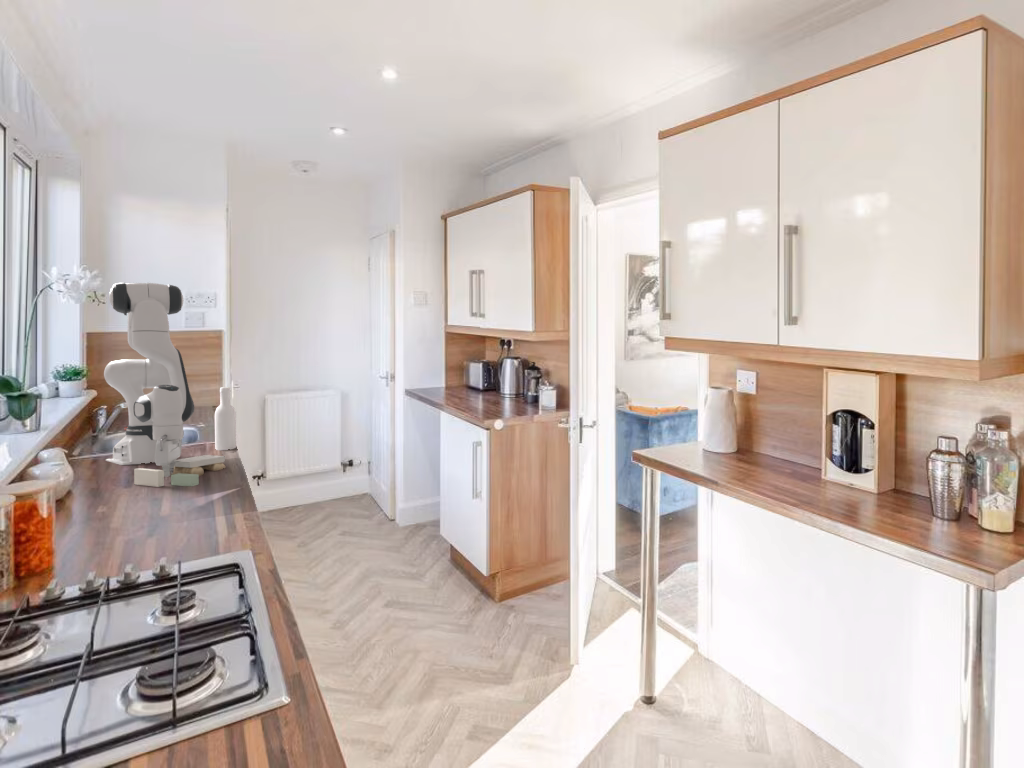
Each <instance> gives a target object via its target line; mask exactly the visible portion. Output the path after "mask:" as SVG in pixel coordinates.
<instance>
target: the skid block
mask: <svg viewBox="0 0 1024 768" xmlns="http://www.w3.org/2000/svg"><path fill="white" fill-rule="evenodd" d="M199 477H200V476H199V474H182V473H178V474H173V475H171V474H170V485H171V486H178V487H181V486H182V487H195V486H197V485H199V484H200V483H199V481H200V478H199Z"/></svg>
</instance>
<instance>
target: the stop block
mask: <svg viewBox="0 0 1024 768" xmlns="http://www.w3.org/2000/svg"><path fill="white" fill-rule="evenodd" d="M133 474H134V476H133V479H134V482H133V483H134V485H137V486H144V487H145V486H147V487H154V488H160V487H164V486H165V477H164V470H163V469H154V468H145V467H144V468H143V467H139V468H134V470H133Z"/></svg>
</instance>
